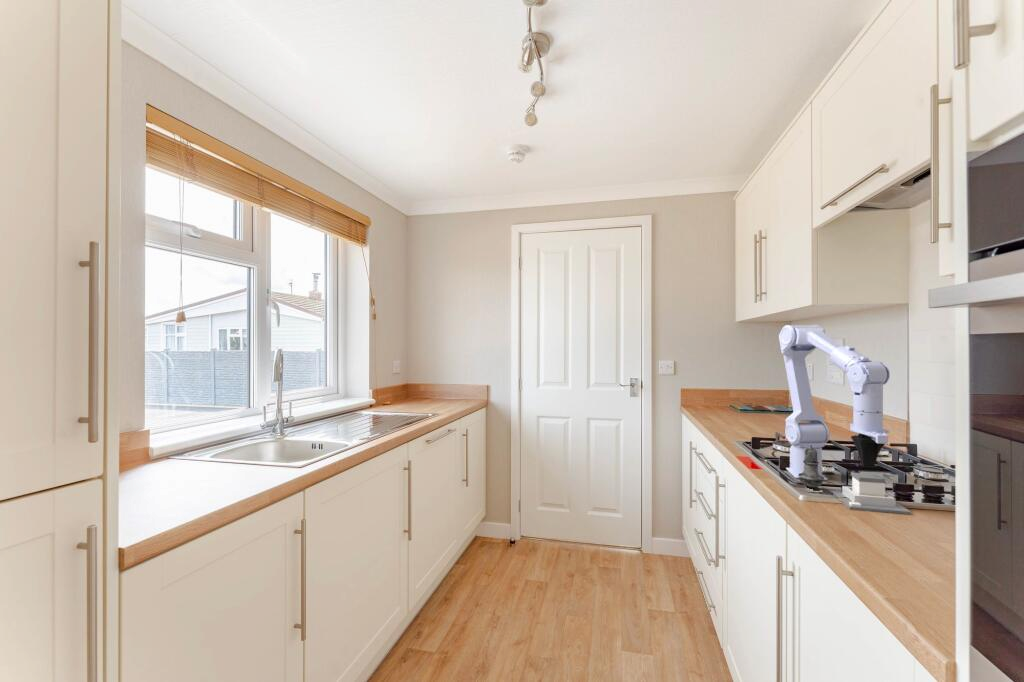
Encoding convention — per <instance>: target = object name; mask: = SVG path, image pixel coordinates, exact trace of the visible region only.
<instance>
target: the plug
mask: <svg viewBox="0 0 1024 682" xmlns="http://www.w3.org/2000/svg"><path fill="white" fill-rule="evenodd" d="M851 478H852V479H851V487H852V491H853V492H854V493H855V494H857V495H868V496H881V497H885V492H886V478H883V477H882V476H881V475H879V474H877V473H864V472H863V473H862V472H851Z"/></svg>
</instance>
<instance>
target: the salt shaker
mask: <svg viewBox="0 0 1024 682" xmlns="http://www.w3.org/2000/svg"><path fill="white" fill-rule="evenodd" d="M803 462H804V471H803V473H799V474H798V476H799V478H798V479H799V482H800V483H801V484H802V486H803V485H806V487H807V488H809V489H813V491H820V490H822V488H820V486H822V485H823V482H824V481H825V480H824V477H822V476H820V475H819V473H818V464H819V462H817V451H816V450H815V449H813V448H812V445H810V448H807V449H805V460H804V461H803Z"/></svg>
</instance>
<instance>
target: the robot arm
mask: <svg viewBox="0 0 1024 682" xmlns="http://www.w3.org/2000/svg"><path fill="white" fill-rule="evenodd" d="M778 341H779V345H780V351H781V355H783V361H784V365H785V366H784V367H785V372H786V377H787V383H788V390H789V395H790V402H791V405H792V406H791V407H792V411H793V412H792V413H791V414H790V415H788V416H787V417H786V418H785V431H784V434H785V437H786V439H787V440H788V443H789V444H790V445H791V446H790V448H789V467H785V469H786V470H787V471H788V472H789V473H790V475H792V476H793V477H794V478H795V479H799V476H798V474H799V473H803V471H804V462H803V461H804V460H805V449H807V448H810V445H812V448H813V449H815V450H816V451H817V462H819V464H818V473H819V475H820V476H822V477H824V480H823V481H828V477H826V476H825V475H824V474H823V448H824V447H825V444H827V442H829V439H830V430H829V428H828V426H827V425H826V422H825V418H824V417H823V416H822V415H821V414H819V413H818V412H817V411H816V410H815V407H814V402H813V396H812V390H811V385H810V380H809V374H808V369H807V368H808V367H807V364H806V357H807V356H808V355H810V354H812V353H813V352H814V351H815V350H816V349H818V350H820V351H822V352H823V353H824V354H827V355H828V356H830V357H829V358H830V362H831V364H833V365H834V366H835V367H837V368H838V369H840V370H841V371H842V372H844V373H845V374H846V378H847V381H848V382H849V384H850V390H851V392H852V395H853V396H852V397H853V398H852V405H853V406H852V411H853V412H852V416H853V418H852V421H853V422H851V423H849V424H850V425H849V426H850V428H849V429H850V430H849V431H850V432H853V433H857V435H851V436H850V438H851V440H852V442H853V444H854V445H855V447H856V451H857V453H858V457H859V461H860V464H861V466H862V467H864V468H875V466H876V463H877V460H878V457H879V456H878V455H879V453H880V451H881V450H882V449H883V447H884V446H885V445H888V444H889V442H888V441H889V436H888V434H889V433H890V432H889V430H888V429H887V428H884V391H883V390H884V385H885V384H887V383H888V381H889V380H890V376H891V375H890V374H891V373H890V369H889V367H888V366H887V365H886V364H885V363H884V362H883V361H880V360H877V361H876V360H875V361H873V360H870V359H869V357H867V356H866V355H863V354H861V353H860V352H859V351H857V350H856V348H855V347H854V346H852V345H840V344H839V343H837V342H836V341H835V340H834V339H833V338H832V337H830V336H829V335H827V333H826V329H825V328H823V327H821V326H820V325H819V324H812V325H811V324H810V325H809V324H808V325H791V324H787V325H784V326H783V327H782V328H781V330H780V332H779V334H778Z"/></svg>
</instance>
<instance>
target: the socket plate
mask: <svg viewBox="0 0 1024 682" xmlns="http://www.w3.org/2000/svg"><path fill="white" fill-rule="evenodd" d="M841 487H842V488H841V490H834V489H829V492H830V491H831V492H832V493H833V494H835V495H836V496H837V497H847V498H849V499H850V500H851V501H845V500H842V502H841V503H842V504H843V505H844V506H845V507H846V508H847V509H849V510H851V511H852V510H854V511H865V512H866V511H867V512H875V513H876V512H878V513H888V514H889V513H890V514H898V515H899V514H900V515H901V514H902V515H910V516H911V515H912V511H910V509H908V508H906V507H904V506H903V505H902V504H900V503H899V502H897V503H895V501H897V500H896V497H894V496H892V495H891V494H889V493H887V492H886V491H885V497H881V496H868V495H857V494H855V493H854V492H853V491H852V486H848V485H847V486H846V485H845V486H843V485H842V486H841ZM840 491H842V493H841V492H840Z"/></svg>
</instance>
